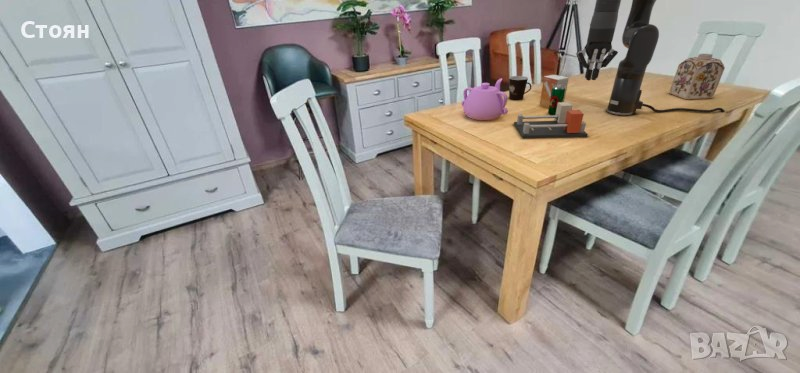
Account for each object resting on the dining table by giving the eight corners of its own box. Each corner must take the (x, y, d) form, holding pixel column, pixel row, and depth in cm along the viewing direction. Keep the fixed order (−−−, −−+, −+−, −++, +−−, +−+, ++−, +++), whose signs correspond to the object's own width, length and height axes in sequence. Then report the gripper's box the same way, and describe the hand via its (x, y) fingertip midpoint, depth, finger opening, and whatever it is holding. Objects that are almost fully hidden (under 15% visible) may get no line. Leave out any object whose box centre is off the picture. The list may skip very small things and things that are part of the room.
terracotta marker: (574, 128, 121) (578, 109, 117) (579, 132, 117) (583, 113, 114) (563, 128, 121) (567, 110, 118) (567, 133, 117) (571, 114, 114)
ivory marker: (565, 119, 130) (568, 102, 126) (569, 123, 126) (573, 105, 122) (554, 119, 130) (557, 102, 126) (558, 123, 126) (561, 105, 123)
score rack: (571, 123, 130) (573, 111, 128) (587, 137, 117) (590, 124, 115) (513, 124, 132) (515, 113, 130) (522, 138, 119) (524, 126, 117)
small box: (539, 105, 152) (543, 76, 146) (549, 103, 154) (554, 74, 148) (552, 110, 146) (557, 79, 139) (563, 107, 148) (569, 77, 141)
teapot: (521, 112, 145) (525, 79, 138) (496, 126, 132) (499, 91, 125) (477, 104, 158) (479, 74, 152) (450, 116, 145) (451, 84, 138)
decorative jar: (713, 98, 147) (731, 55, 138) (686, 100, 147) (702, 57, 138) (693, 92, 157) (708, 51, 148) (667, 93, 158) (681, 52, 149)
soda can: (561, 116, 138) (567, 86, 132) (548, 116, 139) (553, 86, 133) (559, 112, 142) (564, 83, 136) (546, 112, 143) (551, 83, 137)
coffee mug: (504, 97, 167) (506, 76, 162) (521, 95, 167) (523, 75, 163) (513, 103, 157) (515, 81, 152) (530, 102, 157) (533, 80, 152)
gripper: (585, 28, 108) (574, 82, 117) (630, 26, 107) (615, 81, 116) (577, 26, 115) (567, 78, 123) (618, 24, 114) (606, 76, 122)
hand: (590, 79), depth 119 cm, fingers closed
